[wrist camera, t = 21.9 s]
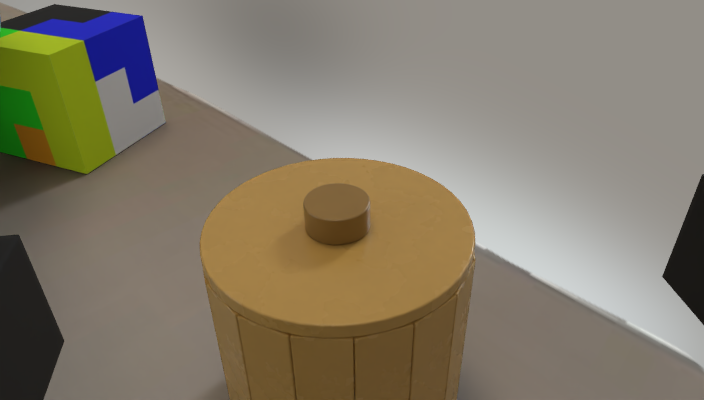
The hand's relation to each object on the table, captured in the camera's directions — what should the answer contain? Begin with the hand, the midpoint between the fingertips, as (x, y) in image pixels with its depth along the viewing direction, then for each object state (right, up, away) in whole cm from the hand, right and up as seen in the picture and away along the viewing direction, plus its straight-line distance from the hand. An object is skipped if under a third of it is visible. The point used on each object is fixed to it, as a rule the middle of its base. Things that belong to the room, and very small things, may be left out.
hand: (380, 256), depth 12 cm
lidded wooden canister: (-1, -7, +17) cm, 18 cm away
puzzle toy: (-25, +7, +41) cm, 48 cm away
